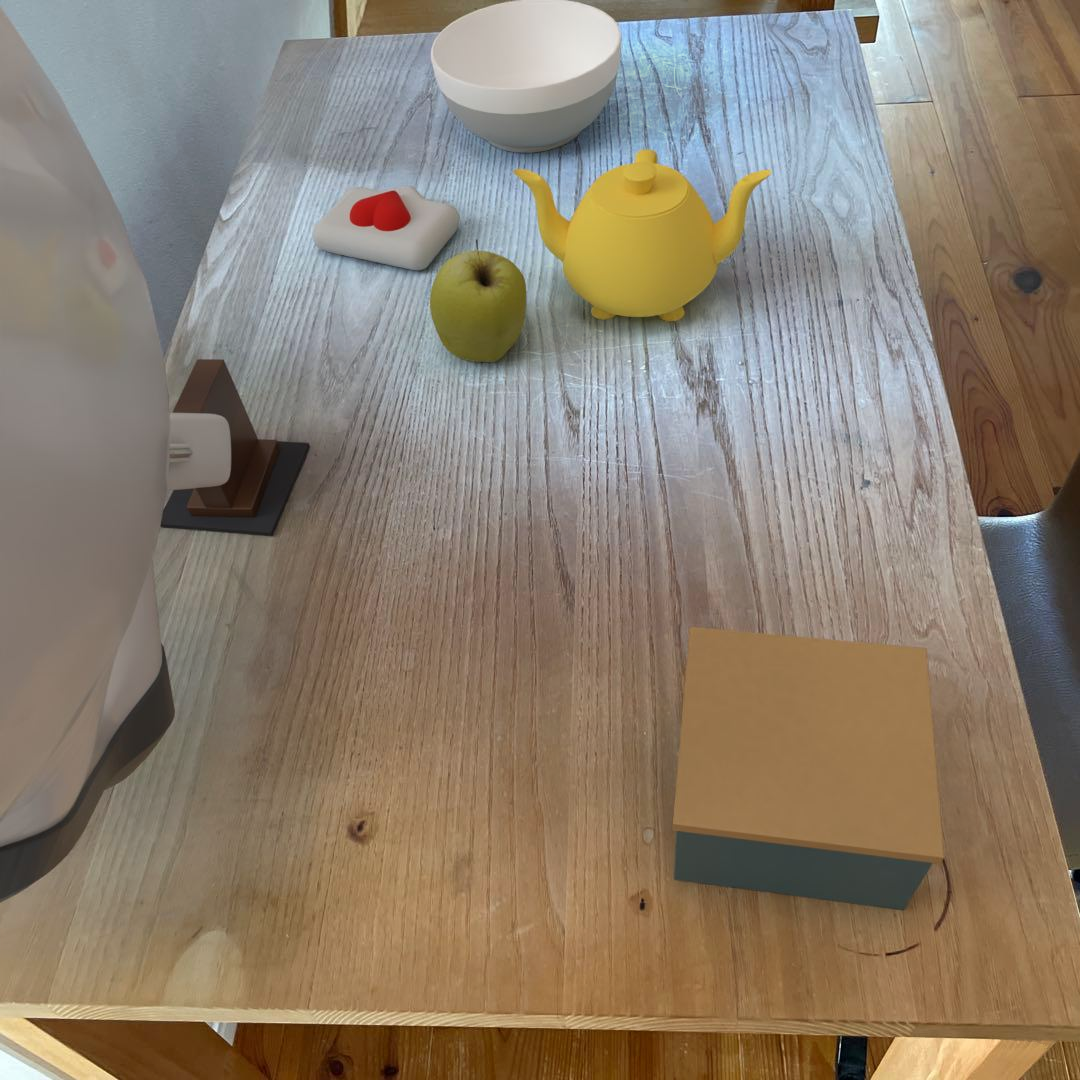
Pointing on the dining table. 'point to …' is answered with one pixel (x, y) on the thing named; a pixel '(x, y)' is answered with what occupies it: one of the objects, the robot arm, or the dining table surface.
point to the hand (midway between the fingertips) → (104, 445)
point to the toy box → (806, 768)
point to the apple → (478, 305)
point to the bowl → (528, 71)
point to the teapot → (640, 237)
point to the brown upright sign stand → (249, 454)
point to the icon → (387, 227)
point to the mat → (269, 507)
